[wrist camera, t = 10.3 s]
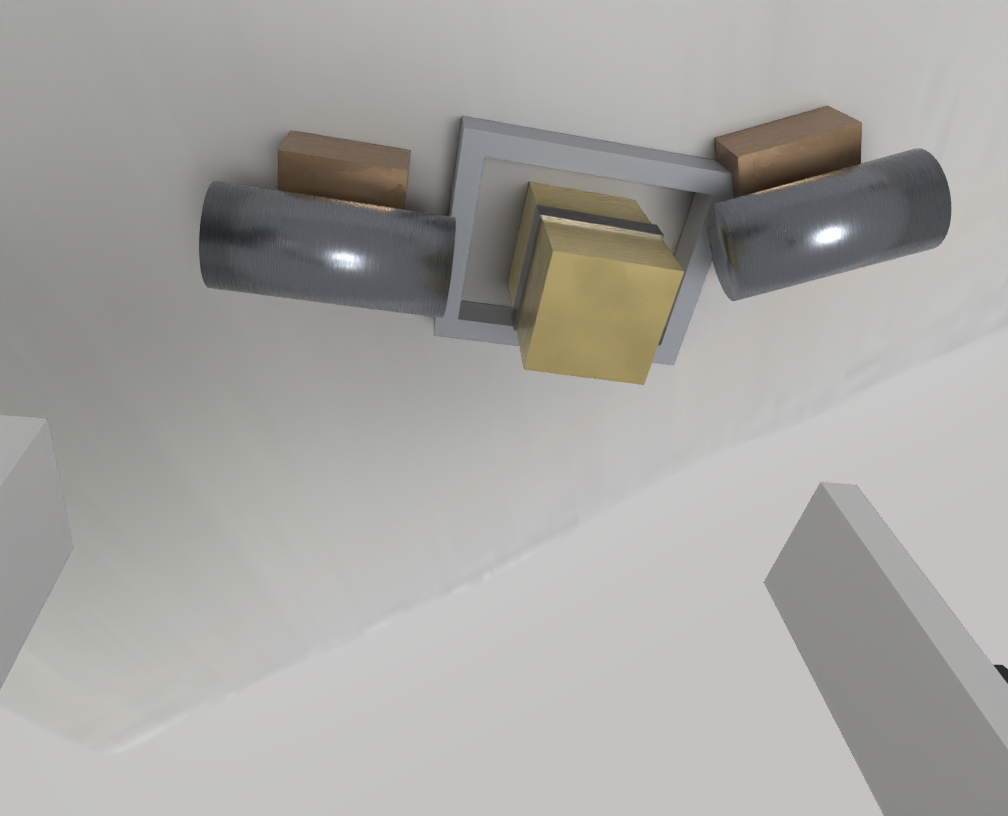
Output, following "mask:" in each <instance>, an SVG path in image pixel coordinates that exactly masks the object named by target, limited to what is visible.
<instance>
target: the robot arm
mask: <svg viewBox="0 0 1008 816" xmlns="http://www.w3.org/2000/svg"><path fill="white" fill-rule="evenodd" d="M72 549H73V543H72V538H71V533H70V528H69V523H68V518H67V513H66V508H65V503H64V498H63V493H62V488H61V483H60V478H59V473H58V468H57V463H56V458H55V454H54V449H53V444H52V439H51V434H50V429H49V424H48V419H46V418H34V417H21V416H9V415H0V689H1V687H2V685H3V683H4V681H5V679H6V677H7V675H8V673H9V671H10V669H11V668H12V666H13V664H14V662H15V660H16V658H17V656H18V654H19V652H20V650H21V648H22V646H23V644H24V642H25V640H26V638H27V636H28V634H29V633H30V631H31V629H32V627H33V625H34V623H35V621H36V619H37V617H38V615H39V613H40V611H41V609H42V607H43V605H44V603H45V601H46V599H47V598H48V596H49V594H50V592H51V590H52V588H53V586H54V584H55V582H56V580H57V578H58V576H59V574H60V572H61V570H62V568H63V566H64V564H65V562H66V561H67V559H68V557H69V555H70V553H71V551H72ZM764 584H765V586H766V587H767V590H768V591H769V593H770V595H771V597H772V599H773V601H774V603H775V605H776V607H777V609H778V611H779V613H780V615H781V617H782V619H783V621H784V623H785V624H786V626H787V628H788V630H789V632H790V634H791V636H792V638H793V640H794V642H795V644H796V646H797V648H798V650H799V652H800V654H801V656H802V657H803V659H804V661H805V663H806V665H807V667H808V669H809V671H810V673H811V675H812V677H813V679H814V681H815V683H816V685H817V687H818V688H819V691H820V692H821V694H822V696H823V698H824V700H825V702H826V704H827V706H828V708H829V710H830V712H831V714H832V716H833V718H834V720H835V722H836V724H837V726H838V728H839V729H840V731H841V733H842V735H843V737H844V739H845V741H846V743H847V745H848V747H849V748H850V751H851V753H852V755H853V757H854V759H855V761H856V762H857V764H858V766H859V768H860V770H861V772H862V774H863V776H864V778H865V780H866V782H867V784H868V785H869V788H870V790H871V792H872V794H873V796H874V797H875V799H876V801H877V803H878V805H879V807H880V809H881V811H882V813H883V815H884V816H1008V669H1007V668H1005V667H1004V666H1003V665H993V664H992V663H991V661H990V660H989V659H988V657H987V656H986V655H985V654H984V652H983V651H982V650H981V648H980V647H979V646H978V644H977V643H976V642H975V640H974V639H973V638H972V636H971V635H970V634H969V632H968V631H967V630H966V628H965V627H964V626H963V624H962V623H961V622H960V620H959V619H958V618H957V617H956V615H955V614H954V612H953V611H952V610H951V609H950V607H949V606H948V605H947V603H946V602H945V601H944V599H943V598H942V597H941V595H940V594H939V593H938V591H937V590H936V589H935V587H934V586H933V585H932V583H931V582H930V581H929V579H928V578H927V577H926V575H925V574H924V573H923V572H922V570H921V569H920V568H919V566H918V565H917V564H916V562H915V561H914V560H913V558H912V557H911V556H910V554H909V553H908V552H907V550H906V549H905V548H904V547H903V545H902V544H901V543H900V541H899V540H898V539H897V537H896V536H895V535H894V534H893V532H892V531H891V529H890V528H889V527H888V526H887V524H886V523H885V522H884V520H883V519H882V517H880V515H879V513H878V512H877V511H876V509H875V508H874V507H873V506H872V504H871V503H870V502H869V500H868V499H867V498H866V496H865V495H864V494H863V492H862V491H861V490H860V488H859V487H858V486H857V485H852V484H839V483H827V482H820V484H819V486H818V488H817V489H816V491H815V493H814V495H813V496H812V498H811V500H810V502H809V504H808V505H807V507H806V509H805V510H804V512H803V514H802V516H801V517H800V520H799V521H798V523H797V525H796V526H795V528H794V530H793V532H792V533H791V535H790V537H789V539H788V540H787V542H786V544H785V546H784V547H783V549H782V551H781V553H780V555H779V556H778V558H777V560H776V562H775V563H774V565H773V567H772V569H771V570H770V572H769V574H768V576H767V577H766V579H765V581H764Z"/></svg>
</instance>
